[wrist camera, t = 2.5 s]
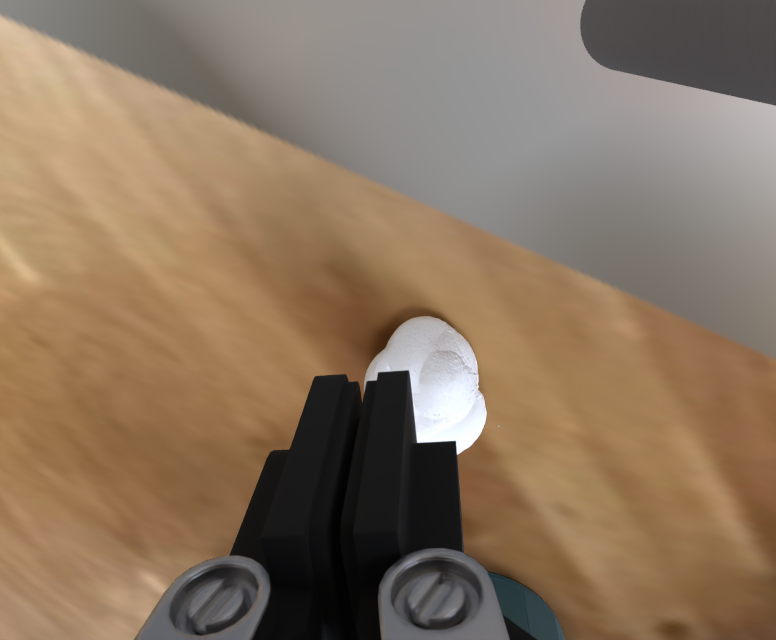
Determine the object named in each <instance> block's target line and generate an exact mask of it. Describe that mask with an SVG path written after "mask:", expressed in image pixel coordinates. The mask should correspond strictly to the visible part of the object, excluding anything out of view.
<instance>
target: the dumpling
mask: <svg viewBox="0 0 776 640" xmlns="http://www.w3.org/2000/svg"><path fill="white" fill-rule="evenodd" d="M404 370H409V373H410V380H411V389H412V398H413V408H414V417H415V427H416V436H417V443H423V442H442V441H456V447H457V455H458V454H459V453H461V452H462V451H463V450H465V449H467V448H469V447H470V446H471V445H472V444H473V442H474V441H475V440H476V439H477V438H478V437H479V435H480V434H481V431H482V429H483V427H484V424H485V421H486V414H487V412H486V408H485V402H484V401H485V399H484V398H483V395H482V393H481V392H480V391H479V390H478V387H479V385H478V383H479V382H478V381H479V379H478V377H479V375H478V373H477V371H478V367H477V361H476V359H475V354H474V352H473V351H472V348H471V346H470V345H469V343H468V341H467V340H465V339H464V337H463V336H462V335H461V334H459V333H458V332H456V330H455V329H453V328H452V327H451V326H449V325H448V324H447V323H446V322H445V321H441V320H440V319H439V318H433V317H430V316H420V317H415V318H411V319H409V320H407V321H406V322H404V323H403V324H401V325H400V326H399V327H398V328H397V329H396V331H395V332H394V333H393V335H392V336H391V338H390V339H389V341H388V344H387V345H386V348H385V349H384V350H382V351H381V352H380V353H379V354H377V355H376V357H375V358H374V359H373V360H372V362H371V363H370V365H369V367H368V369H367V372H366V375H365V381H364V392H365V386H366V382H367V381H373V380H377V375H378V372H389V371H404ZM498 427H499V426H498Z"/></svg>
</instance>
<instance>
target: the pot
mask: <svg viewBox="0 0 776 640" xmlns="http://www.w3.org/2000/svg"><path fill="white" fill-rule="evenodd" d="M487 573H488V575H489V577H490V579H491V581H492V583H493V586H494V589H495V592H496V596H497V599H498V602H499V605H500V609H501V612H502V614H503V615H504V616H506V617H507V618H508V619H510V620H511V621H512V622H514V623H515V624H516V625H518V626H519V627H521V628H522V629H523V630H525V631H526V632H527V633H529V634H530V635H532V636H533V637H534V638H536V639H537V640H566V639H565V637H564V635H563V631H562V628H561V626H560V623H559V621H558V619H557V618H556V616H555V614H554V612H553V611H552V610H551V609H550V607H549V606H548V605H547V604H546V603H545V602H544V601H543V600H542V599H541V598H540V597H539V596H538V595H537V594H535V593H534V592H532V591H531V590H530V589H528V588H527V587H525V586H523V585H521V584H519V583H518V582H516V581H514V580H511V579H509V578H506V577H504V576H501V575H498V574H495V573H491V572H488V571H487Z"/></svg>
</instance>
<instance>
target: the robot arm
mask: <svg viewBox="0 0 776 640" xmlns="http://www.w3.org/2000/svg"><path fill="white" fill-rule="evenodd" d="M134 640H537V639H536V638H534V637H533V636H532V635H530V634H529V633H527V632H526V631H525V630H523V629H522V628H521V627H519V626H518V625H516V624H515V623H514V622H512V621H511V620H510V619H508V618H507V617H506V616H504V615H503V614H502V612H501V609H500V605H499V602H498V599H497V596H496V592H495V589H494V586H493V583H492V581H491V579H490V577H489V575H488V573H487V571H486V569H485V568H484V567H483V566H482V565H481V564H479V563H478V562H477V561H476V560H475V559H474V558H472V557H470V556H468V555H466V554H464V546H463V530H462V515H461V501H460V487H459V474H458V460H457V447H456V441H442V442H423V443H417V436H416V427H415V417H414V408H413V398H412V389H411V380H410V373H409V370H404V371H389V372H378V375H377V380H373V381H367V382H366V386H365V392H364V397H363V403H362V399H361V392H360V386H359V383H358V381H357V382H349V381H348V378H347V375H346V374H342V375H326V376H315V377H314V379H313V382H312V385H311V388H310V391H309V394H308V397H307V400H306V403H305V406H304V409H303V412H302V415H301V418H300V421H299V424H298V427H297V430H296V433H295V436H294V439H293V442H292V445H291V447H290V450H273V451H272V452H270V454H269V455H268V457H267V459H266V462H265V465H264V467H263V470H262V472H261V475H260V478H259V480H258V483H257V485H256V488H255V491H254V493H253V496H252V498H251V501H250V504H249V506H248V509H247V511H246V514H245V517H244V519H243V522H242V524H241V527H240V530H239V532H238V535H237V537H236V540H235V543H234V545H233V548H232V550H231V553H230V556H221V557H217V558H213V559H209V560H206V561H204V562H202V563H200V564H198V565H196V566H194V567H192V568H190V569H188V570H187V571H186V572H184V573H183V574H182V575H180V576H179V577H178V578H177V579H175V581H174V582H173V583H172V584H171V585H170V587H169V588H168V589H167V590H166V591H165V593H164V594H163V596H162V597H161V599H160V600H159V602H158V603H157V605H156V606H155V608H154V609H153V611H152V612H151V614H150V616H149V617H148V619H147V620H146V622H145V623H144V625H143V626H142V628H141V629H140V631H139V632H138V634H137V636H136V637H135V639H134Z"/></svg>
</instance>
